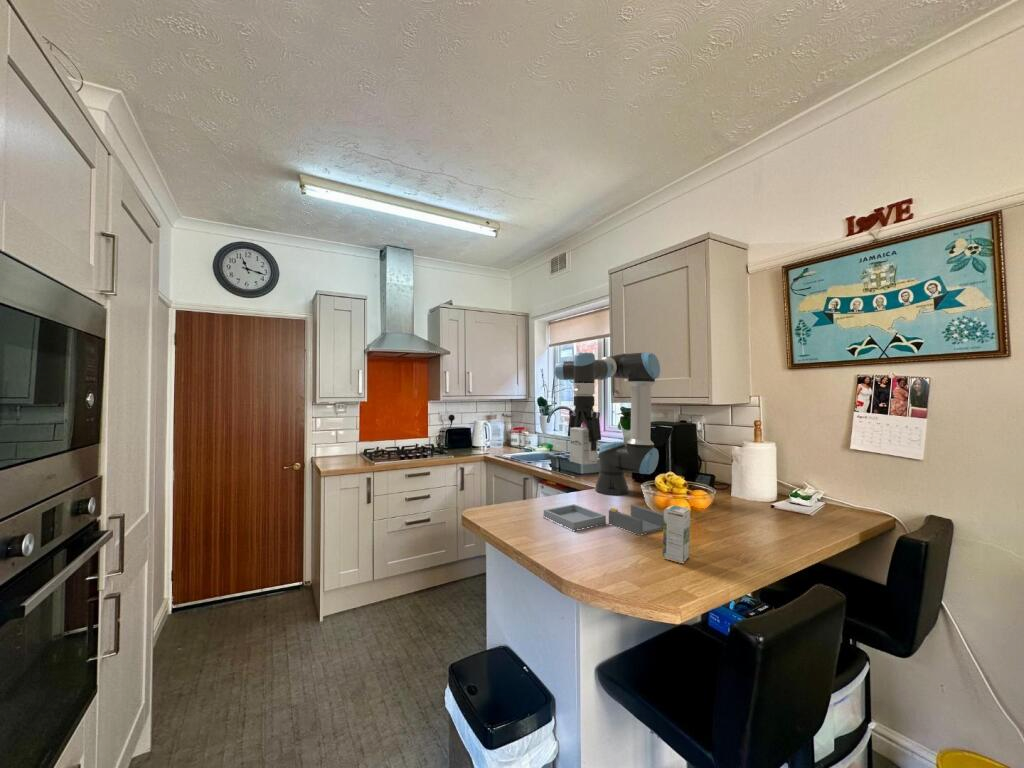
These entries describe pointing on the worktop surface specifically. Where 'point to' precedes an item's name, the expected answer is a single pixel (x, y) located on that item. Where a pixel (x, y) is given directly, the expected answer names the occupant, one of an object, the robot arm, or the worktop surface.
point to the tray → (575, 516)
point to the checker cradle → (637, 520)
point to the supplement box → (580, 446)
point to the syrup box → (676, 533)
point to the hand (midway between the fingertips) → (583, 458)
